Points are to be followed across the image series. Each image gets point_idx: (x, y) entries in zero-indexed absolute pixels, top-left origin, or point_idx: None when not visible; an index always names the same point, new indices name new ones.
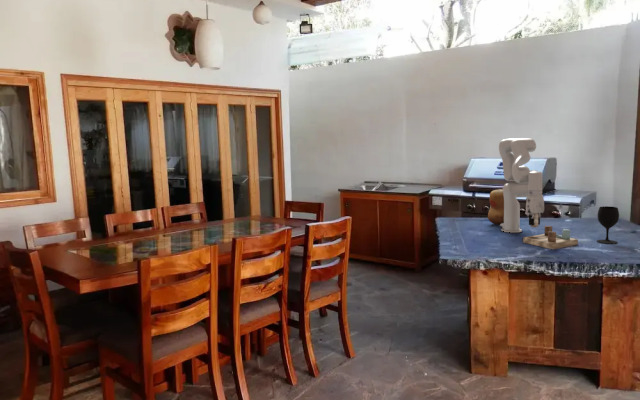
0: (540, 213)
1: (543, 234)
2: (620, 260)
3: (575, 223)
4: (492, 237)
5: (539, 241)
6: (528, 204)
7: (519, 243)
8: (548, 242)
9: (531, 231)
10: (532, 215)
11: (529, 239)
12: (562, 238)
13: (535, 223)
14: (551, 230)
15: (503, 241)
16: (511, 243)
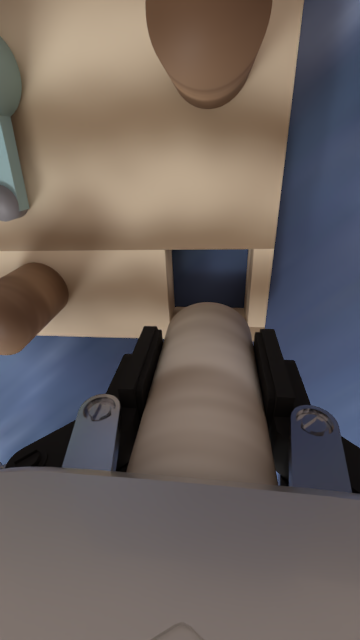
0: (65, 465)
1: (54, 327)
2: None
3: None
4: (276, 473)
5: (283, 166)
6: None
7: (302, 316)
8: (282, 38)
9: (5, 449)
10: (339, 467)
11: (269, 281)
12: (20, 93)
13: (236, 336)
14: (2, 279)
15: (324, 399)
16: (343, 343)
